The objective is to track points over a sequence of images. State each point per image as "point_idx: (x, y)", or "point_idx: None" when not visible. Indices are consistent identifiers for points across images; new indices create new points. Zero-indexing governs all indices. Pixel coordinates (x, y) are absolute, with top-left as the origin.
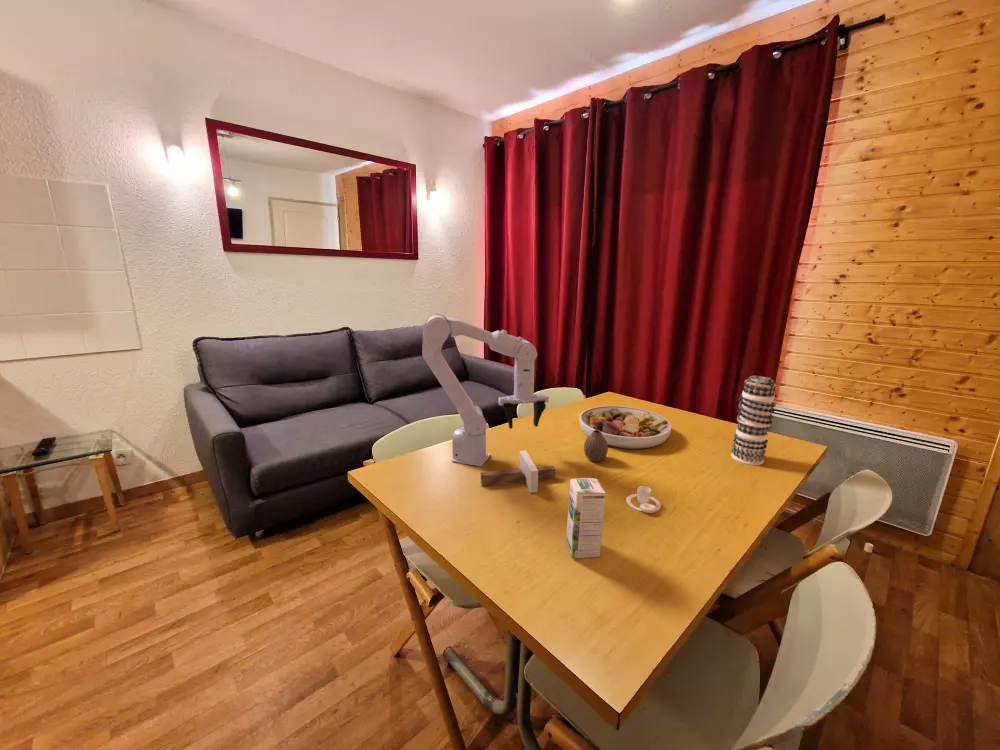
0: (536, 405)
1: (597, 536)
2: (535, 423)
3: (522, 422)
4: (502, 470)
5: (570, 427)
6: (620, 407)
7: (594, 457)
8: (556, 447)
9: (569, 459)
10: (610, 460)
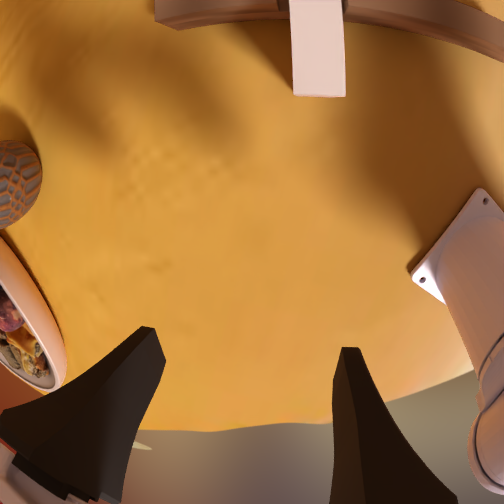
0: (75, 474)
1: None
2: (144, 347)
3: (218, 423)
4: (449, 25)
5: None
6: (9, 366)
7: (16, 142)
8: (125, 274)
9: (89, 171)
10: None
